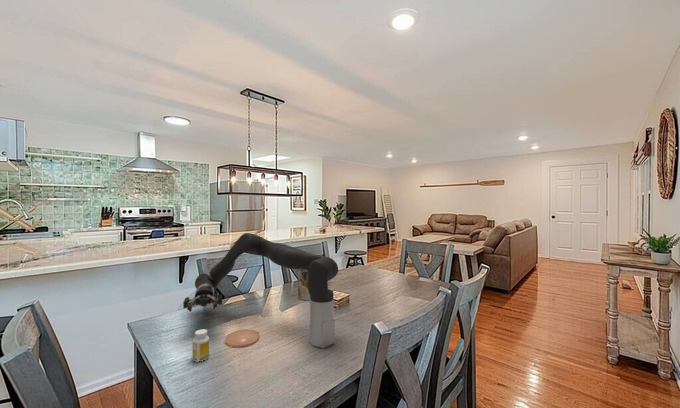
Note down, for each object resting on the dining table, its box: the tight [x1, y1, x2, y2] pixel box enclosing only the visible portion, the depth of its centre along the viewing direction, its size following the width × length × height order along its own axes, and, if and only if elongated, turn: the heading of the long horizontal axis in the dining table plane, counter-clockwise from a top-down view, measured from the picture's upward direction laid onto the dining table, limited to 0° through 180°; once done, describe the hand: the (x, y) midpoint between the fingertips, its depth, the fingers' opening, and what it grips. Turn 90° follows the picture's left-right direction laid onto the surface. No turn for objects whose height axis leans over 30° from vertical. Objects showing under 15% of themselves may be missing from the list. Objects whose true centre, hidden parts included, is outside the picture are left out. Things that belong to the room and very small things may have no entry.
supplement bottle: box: [191, 328, 210, 363], centre depth 106 cm, size 5×5×10 cm
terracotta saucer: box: [224, 328, 260, 348], centre depth 120 cm, size 13×13×1 cm
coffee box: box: [297, 269, 310, 302], centre depth 169 cm, size 9×6×16 cm
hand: (202, 307), depth 116 cm, fingers open, 8 cm apart
